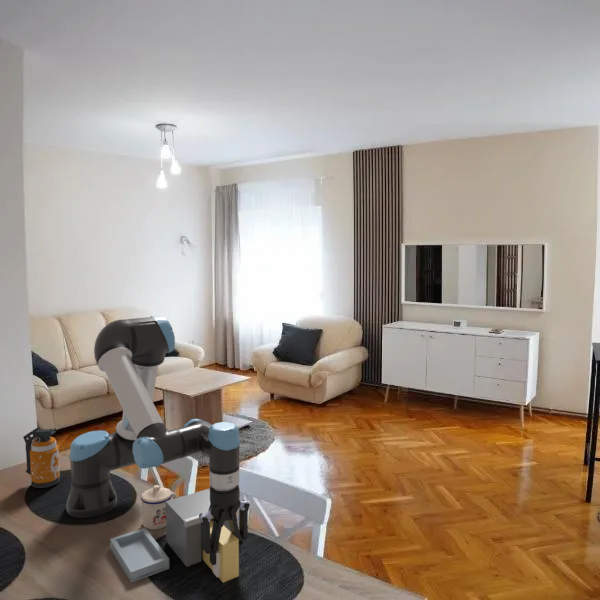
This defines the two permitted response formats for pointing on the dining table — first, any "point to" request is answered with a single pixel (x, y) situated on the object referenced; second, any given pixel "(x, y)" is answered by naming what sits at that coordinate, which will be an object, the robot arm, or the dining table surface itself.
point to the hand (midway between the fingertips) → (225, 570)
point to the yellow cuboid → (225, 554)
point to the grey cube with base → (187, 525)
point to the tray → (139, 554)
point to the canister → (42, 458)
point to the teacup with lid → (155, 507)
